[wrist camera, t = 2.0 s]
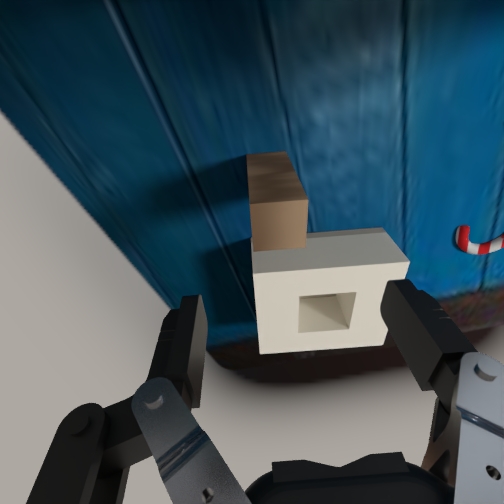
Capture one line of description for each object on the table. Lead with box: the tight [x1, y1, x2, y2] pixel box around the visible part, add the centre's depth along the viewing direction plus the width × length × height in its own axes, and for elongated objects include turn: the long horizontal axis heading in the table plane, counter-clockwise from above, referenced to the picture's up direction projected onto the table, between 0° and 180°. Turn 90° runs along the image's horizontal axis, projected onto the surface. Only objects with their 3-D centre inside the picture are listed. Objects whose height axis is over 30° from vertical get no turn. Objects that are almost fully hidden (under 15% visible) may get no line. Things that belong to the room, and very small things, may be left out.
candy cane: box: [456, 225, 504, 255], centre depth 28 cm, size 8×1×15 cm
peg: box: [246, 151, 308, 252], centre depth 22 cm, size 4×4×10 cm
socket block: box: [251, 227, 410, 354], centre depth 31 cm, size 14×12×6 cm
